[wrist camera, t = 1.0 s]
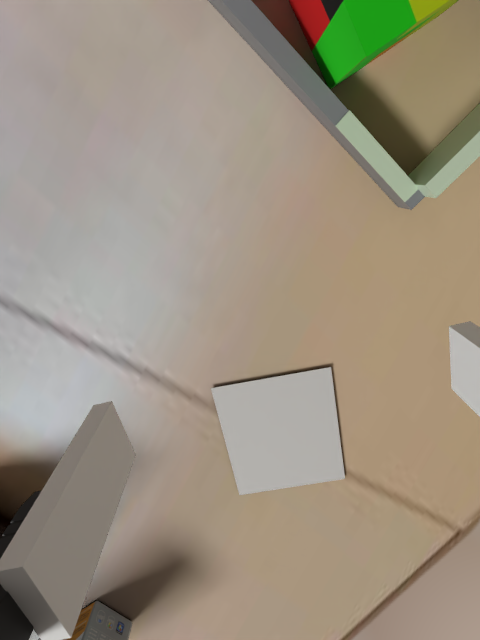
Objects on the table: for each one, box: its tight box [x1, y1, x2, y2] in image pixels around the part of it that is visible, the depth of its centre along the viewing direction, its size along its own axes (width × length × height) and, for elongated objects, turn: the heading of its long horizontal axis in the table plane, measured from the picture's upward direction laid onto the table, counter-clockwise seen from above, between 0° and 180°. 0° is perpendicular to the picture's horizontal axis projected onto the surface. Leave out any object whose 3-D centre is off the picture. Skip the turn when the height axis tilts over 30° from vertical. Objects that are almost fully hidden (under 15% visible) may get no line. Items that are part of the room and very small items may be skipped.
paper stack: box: [211, 367, 345, 495], centre depth 47 cm, size 23×25×1 cm
